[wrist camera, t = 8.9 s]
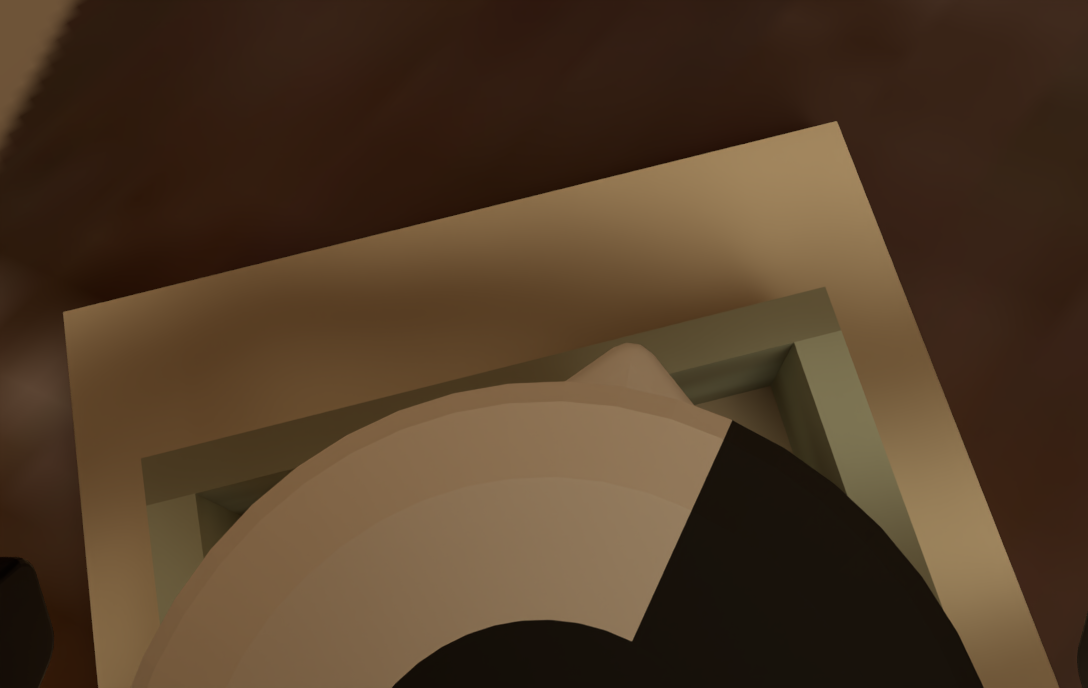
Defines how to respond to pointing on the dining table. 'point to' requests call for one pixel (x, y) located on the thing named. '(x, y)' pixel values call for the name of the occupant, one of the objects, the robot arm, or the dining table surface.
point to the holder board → (539, 368)
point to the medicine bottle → (557, 558)
